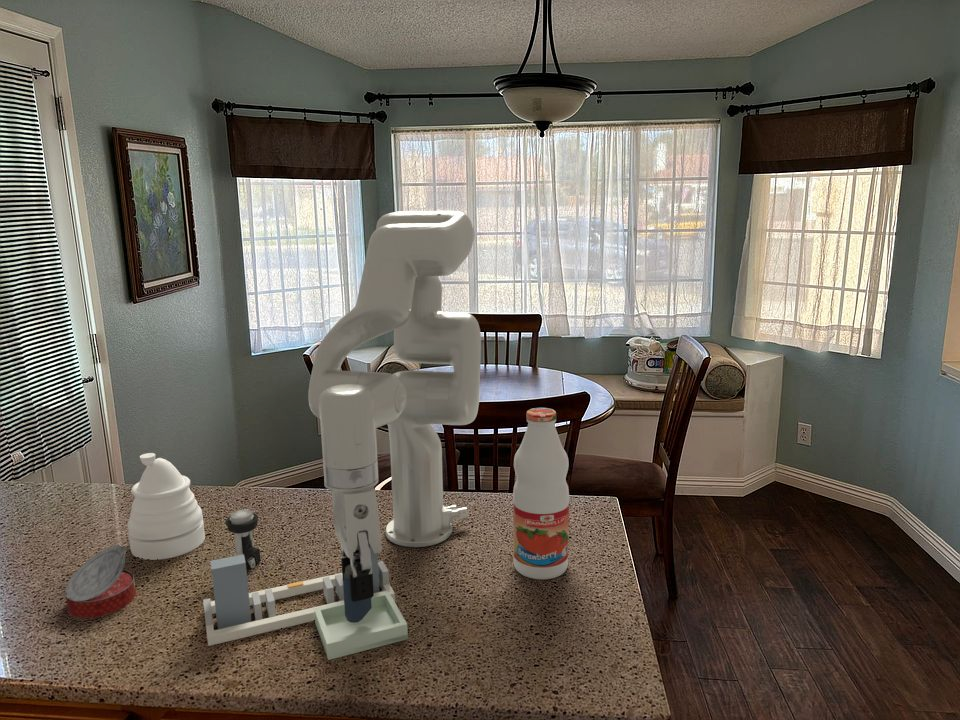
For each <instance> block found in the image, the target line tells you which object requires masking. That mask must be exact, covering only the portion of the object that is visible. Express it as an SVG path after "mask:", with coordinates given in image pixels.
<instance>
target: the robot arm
mask: <svg viewBox="0 0 960 720" xmlns="http://www.w3.org/2000/svg"><path fill="white" fill-rule="evenodd" d="M473 243H474V227H473V222H472V221H471V219H470V217H469V216H468V215H467V214H466V213H465V212H462V211H458V210H404V211H402V210H401V211H394V212H389V213H386V214H383V215H382V216H380V218H379V219H378V220H377V222H376V227H375V230H374V231H373V232H372V234H371V235H370V238H369V241H368V245H367V250H366V254H365V255H366V256H365V258H364V265H363V268H362V269H363V270H362V273H361V280H360V283H359V288H358V294H357V299H356V303H355V306H354V307H353V308H352V309H351V310H350V311H348V312H347V313H346V314H345V315H344V316H343V317H341V318H340V319H339V320H338V321H337V322H336V323H335V324H334V325H333V326H332V328H330V329H329V331H328V332H327V333H326V335H325V336H324V338H323V339H322V340H321V341H320V343H319V346H318V348H317V350H316V352H315V356H314V360H313V365H312V370H311V375H310V379H309V385H308V394H307V396H308V397H307V399H308V405H309V409H310V410H311V412H312V414H313V415H314V416H315V417H316V418H317V419H319V420H320V435H321V436H320V437H321V451H322V467H323V476H324V477H323V478H324V479H323V480H324V481H323V482H324V483H323V484H324V487H325V488H326V489H327V490H329V491H330V492H331V499H332V501H331V502H332V503H331V504H332V517H333V519H332V520H333V527H334V528H333V529H334V533H335V535H336V538H337V540H338V542H339V544H340V549H341V550H340V553H341V557H342V558H340V559H341V573H342V577H343V579H344V573H345V567H346V566H347V565H350V564H351V572H352V575H349V576H350V592H351V600H352V601H353V602H355V601H359V600H364V599H368V598H372V597H373V596H374V590H373V572H372V561H371V554H370V547H371V548H372V550H373V552H374V553H375V554H378V555H380V554H381V553H382V551H383V548H382V547H383V546H382V545H383V544H382V537H381V528H380V527H381V525H380V524H381V523H380V517H379V508H378V502H377V501H378V500H377V494H376V490H375V487H376V486H377V484H378V483H379V463H378V461H379V460H378V459H379V458H378V447H377V445H378V444H377V442H378V441H377V429H378V428H380V427H382V426H385V425H387V427H388V434H389V435H388V436H389V438H388V439H389V448H390V449H389V450H390V474H391V475H390V476H391V494H392V496H391V497H392V514H393V515H392V516H393V519H391V520H390V521H389V522H388V524H386V527H385V536H386V539H388V540H389V542H390V543H391V542H392V544H394V545H398V546H401V547H406V548H425V547H431V546H434V545H437V544H440V543H442V542H443V541H446V540H447V539H448V538H450V536H452V533H453V524H452V522H454V520H457V519H459V520H460V519H464V518H468V516H469V512H468V508H467V507H466V506H465V507H460V508H458V507H457V504H452V505H451V504H450V505H449V506H445V505H444V486H443V485H444V484H443V450H442V449H443V448H442V442H441V439H440V437H439V435H438V433H437V431H436V430H435V428H434V427H433V426H432V425H448V426H466V425H469V424H471V423H473V422H474V421H475V420H476V418H477V415H478V411H479V405H480V385H481V383H480V382H481V359H482V358H481V356H482V354H481V353H482V335H481V334H482V333H481V328H480V325H479V324H480V323H479V322H478V320H477V319H476V317H475V316H474V315H472V314H470V313H469V312H468V313H467V312H463V311H443V308H442V301H443V300H442V297H443V294H442V292H443V285H442V282H441V280H440V278H439V277H445V276H446V277H447V276H450V275H452V274H453V273H455V272H456V271H457V270H458V268H460V266H461V265H462V264H463V263H464V261H465V260H466V259H467V258H468V256H469V254H470V253H471V251H472V246H473ZM392 331H393V348H394V353H395V356H396V357H397V358H398V359H399V360H401V361H402V362H406V363H416V364H428V365H429V364H430V365H433V364H434V365H449V366H452V367H453V371H435V370H434V371H433V370H414V369H413V370H401V371H396V372H394V373H388V372H379V371H377V372H376V371H356V370H355V371H354V370H340V369H341V367H342V364H343V362H344V361H345V359H346V358H347V356H348V355H350V354H351V352H352V351H354V350H355V349H356V348H358V347H359V346H361V345H362V344H365V343H366V342H368V341H371V340H373V339H376V338H377V337H380V336H382V335H385V334H387V333H390V332H392ZM356 550H359V553H355V554H354V552H355V551H356ZM344 557H346V558H344ZM356 559H360V560H361V561H360V563H359V564H357V566H356V561H355V560H356Z"/></svg>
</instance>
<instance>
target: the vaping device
mask: <svg viewBox="0 0 960 720" xmlns="http://www.w3.org/2000/svg"><path fill="white" fill-rule="evenodd" d="M355 553H359V550H356V551H355V552H354V554H355ZM355 561H356V566H357V564H359V563H360V561H361V560H360V559H356V560H355ZM349 575H352V572H351V564H350V565H347V566H346V567H345V573H344V579H343V590H344V607H345V617H346V619H347V621H349V622H352V623H356V622H359V621H361V620H362V619H363V618H364V616H365V615H366V614H367V613H368V612H369V611H370V609H371V608H372V605H371V598H368V599H364V600H359V601H355V602H353V601H352V600H351V592H350V576H349Z"/></svg>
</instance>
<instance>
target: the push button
mask: <svg viewBox="0 0 960 720" xmlns="http://www.w3.org/2000/svg"><path fill="white" fill-rule="evenodd" d="M258 521H259V515H258V514H256V513H254V512H253V511H252V510H251V509H248V508H247V509H245V508H244V509H238V510H235V511H232V512H231V514H230V516H228V517H227V518H226V519H225V525H226V526H227V531H228V532H230V533H232V534H233V535H234V545H235V549H234V550H235V556H237V555H243V554H244V558H245V562H246V571H248V570H249V569H253V568H255V566H256V564H259V563H260V562H261V552H260V551H261V549H260V548H258V547H255V544H254V538H253V535H254V534H253V530H255V529H256V528H257V527H258Z"/></svg>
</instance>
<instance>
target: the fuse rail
mask: <svg viewBox="0 0 960 720" xmlns="http://www.w3.org/2000/svg"><path fill="white" fill-rule="evenodd" d="M370 554H371V561H372V572H373V590H374V595H375V594H379V593H383V592H388V591H389V593H390V595H391V596H392V598H393V600H394V602H396V593H395V591H394V590H393V587H392V586H391V583H390V571H389V569H388V567H387V566H386V564H385V562H384V560H381V561H379V557H378V555H379V554H375V553H374V552H373V550H372V548H371V547H370ZM343 558H346V557H343ZM209 563H210V571H211V572H210V573H211V576H212V577H211V579H212V589H213V597H214V600H211V598H210V597H209V598H204V599H202V603H203V610H204V612H203V613H204V620H205V621H204V623H205V629H206V630H205V631H206V638H207V647H210V646H215V645H218V644H222V643H226V642H231V641H235V640H239V639H244V638H247V637H251V636H256V635H260V634H264V633H268V632H273V631H276V630H281V628H282V629H286V628H289V627H293V626H297V625H301V624H302V625H303V624H307V623H310V622H315V621H314V620H315V615H314V609H315V608H319V607H323V606H328V605H332V604H336V603H341V602H344V590H343V577H342V572H339V573H335V574H330V575H325V576H322V577H321V576H320V577H317V578H311V579H307V580H302V581H301V580H300V581H296V582H293V583H292V582H291V583H288V584H285V585H281V586H276V587H270V588H266V589H262V590H256V591H252V592H249V583H248V572H247V571H248V570H247V571H246V562H245V558H244V554H243V555H237V556H236V555H234V556H228V557H223V558H218V559H213V560H210V561H209ZM334 589H335V591H334ZM380 589H381V591H380ZM321 590H323V596H324V598H325V602H326V604H322V605H319V606H318V605H317V606H313V607H310V608H305V609H300V610H297V611H291V612H288V613H283V614H279V615H278V614H277V613H276V612H277V611H276V600H281V599H286V598H290V597H295V596H298V595H303V594H308V593H311V592H316V591H321ZM335 592H336V593H335ZM335 594H336V595H337V597H338V601H335ZM262 603H263V604H264V603H265V604H266V607H265V608H266V611H267V614H268V617H266V618H263V611H262V610H263V609H262ZM251 606H252V611H253V615H254V620H252V613H251ZM213 614H215V615H216V617H215V618H216V623H217V629H214V621H213Z"/></svg>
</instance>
